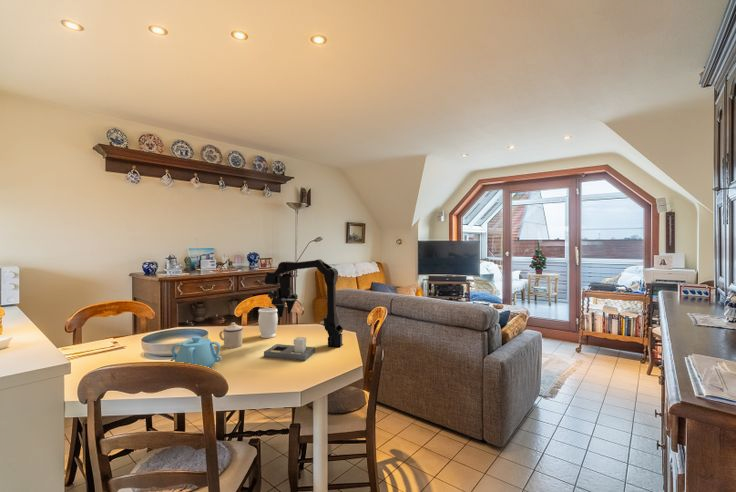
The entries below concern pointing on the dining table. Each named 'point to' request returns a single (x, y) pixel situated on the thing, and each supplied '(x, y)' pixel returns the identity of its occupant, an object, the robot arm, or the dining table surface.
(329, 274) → the robot arm
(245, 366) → the dining table surface
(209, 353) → the decorative pot
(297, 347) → the plug
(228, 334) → the teacup with lid
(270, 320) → the jar
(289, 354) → the grey socket board
